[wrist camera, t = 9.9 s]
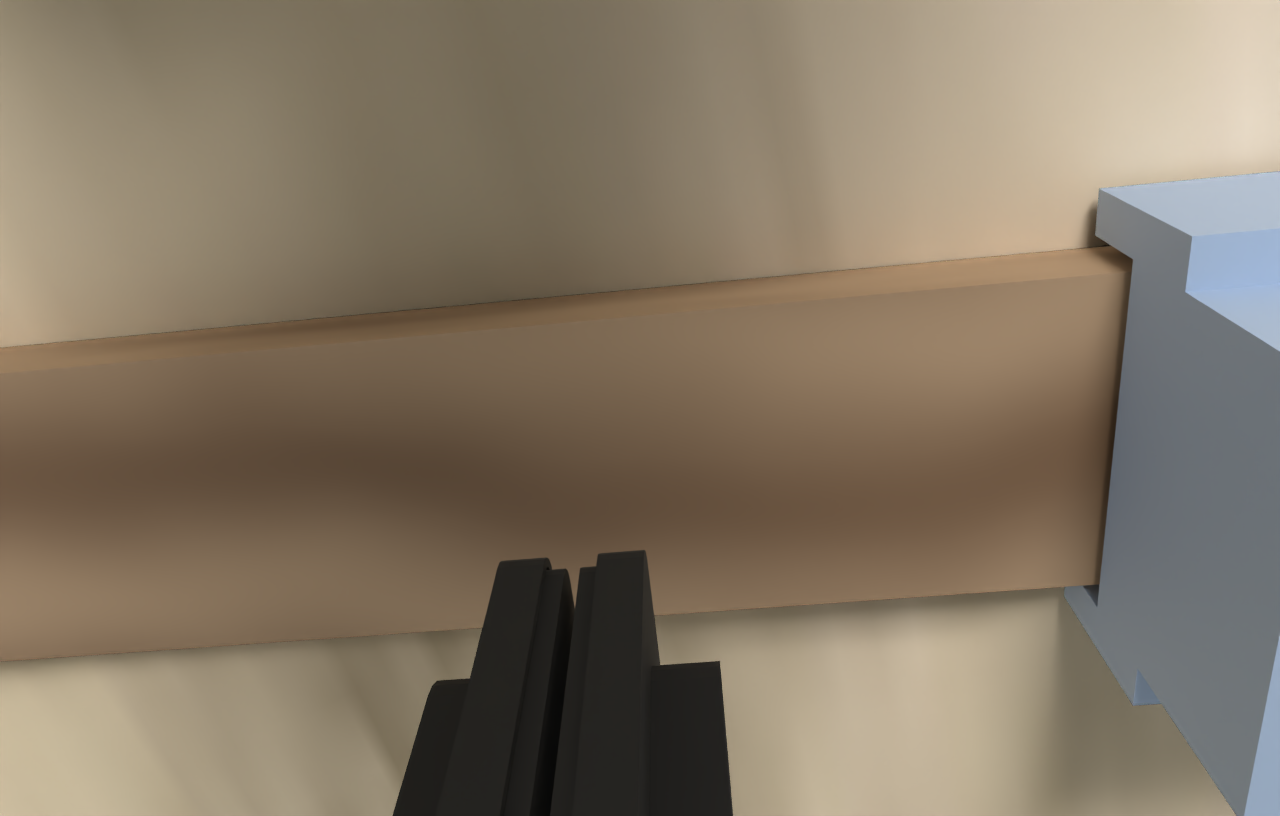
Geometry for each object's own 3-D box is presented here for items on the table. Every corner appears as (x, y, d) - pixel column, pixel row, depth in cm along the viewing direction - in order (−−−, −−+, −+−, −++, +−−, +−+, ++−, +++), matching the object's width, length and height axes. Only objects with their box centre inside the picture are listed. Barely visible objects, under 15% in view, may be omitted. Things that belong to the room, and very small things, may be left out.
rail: (-246, 318, 18) (-635, 468, 13) (1696, 132, 16) (2224, 218, 11) (-75, 663, 22) (-329, 901, 16) (1561, 548, 19) (1913, 776, 14)
